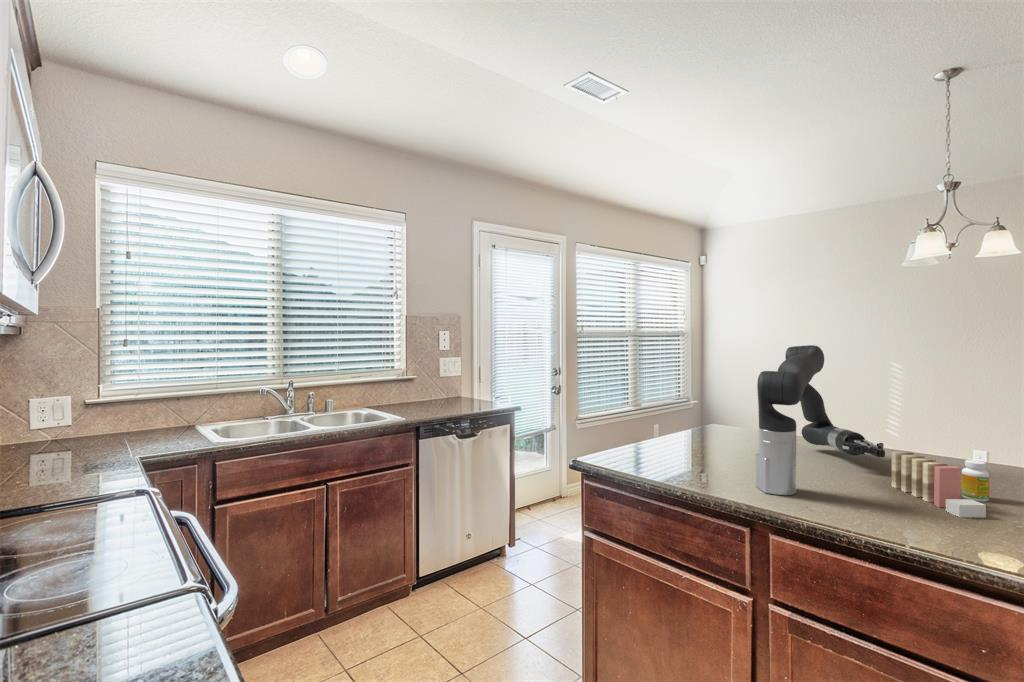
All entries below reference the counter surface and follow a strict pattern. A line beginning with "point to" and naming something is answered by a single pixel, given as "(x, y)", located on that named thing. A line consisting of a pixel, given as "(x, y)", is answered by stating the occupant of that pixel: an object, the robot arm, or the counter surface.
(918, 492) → the domino
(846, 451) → the robot arm
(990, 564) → the counter surface
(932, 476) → the domino
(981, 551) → the counter surface
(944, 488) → the domino
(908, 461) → the domino
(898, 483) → the domino
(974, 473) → the supplement bottle
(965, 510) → the block
